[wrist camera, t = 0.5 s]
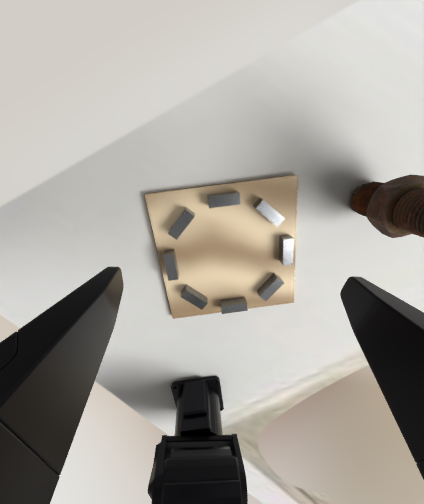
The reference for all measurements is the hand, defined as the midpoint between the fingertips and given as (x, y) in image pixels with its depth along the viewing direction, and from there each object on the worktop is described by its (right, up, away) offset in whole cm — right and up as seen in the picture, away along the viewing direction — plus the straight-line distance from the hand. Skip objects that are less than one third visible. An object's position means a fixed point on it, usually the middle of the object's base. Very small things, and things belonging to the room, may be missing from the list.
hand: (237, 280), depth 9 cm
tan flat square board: (+1, +1, +15) cm, 15 cm away
